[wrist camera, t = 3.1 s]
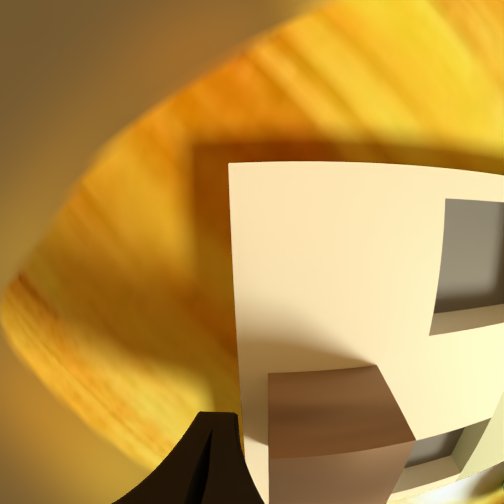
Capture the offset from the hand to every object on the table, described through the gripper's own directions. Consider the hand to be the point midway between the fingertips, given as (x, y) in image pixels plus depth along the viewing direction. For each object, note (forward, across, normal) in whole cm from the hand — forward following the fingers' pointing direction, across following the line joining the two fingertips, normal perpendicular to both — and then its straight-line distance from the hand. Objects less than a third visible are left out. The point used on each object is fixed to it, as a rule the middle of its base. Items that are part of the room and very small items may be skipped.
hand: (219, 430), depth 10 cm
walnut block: (+1, -4, 0) cm, 4 cm away
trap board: (+3, -11, 0) cm, 11 cm away
